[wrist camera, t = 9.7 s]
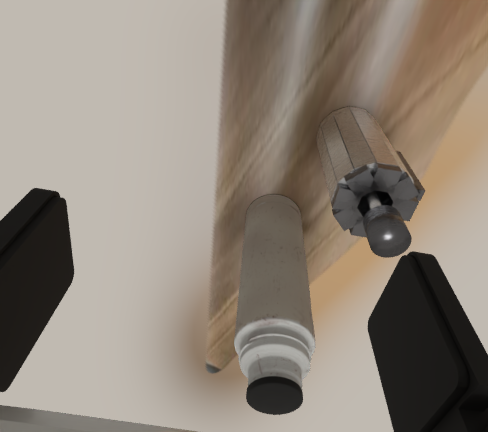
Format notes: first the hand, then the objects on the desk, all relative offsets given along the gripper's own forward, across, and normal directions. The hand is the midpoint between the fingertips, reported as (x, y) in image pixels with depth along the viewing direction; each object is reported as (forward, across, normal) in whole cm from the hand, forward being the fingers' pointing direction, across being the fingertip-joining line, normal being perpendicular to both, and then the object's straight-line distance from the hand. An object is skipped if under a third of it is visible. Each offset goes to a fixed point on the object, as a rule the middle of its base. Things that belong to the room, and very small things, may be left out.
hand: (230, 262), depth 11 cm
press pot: (+38, -13, +10) cm, 42 cm away
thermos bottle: (+38, -6, +24) cm, 46 cm away
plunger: (+35, -13, +10) cm, 38 cm away
